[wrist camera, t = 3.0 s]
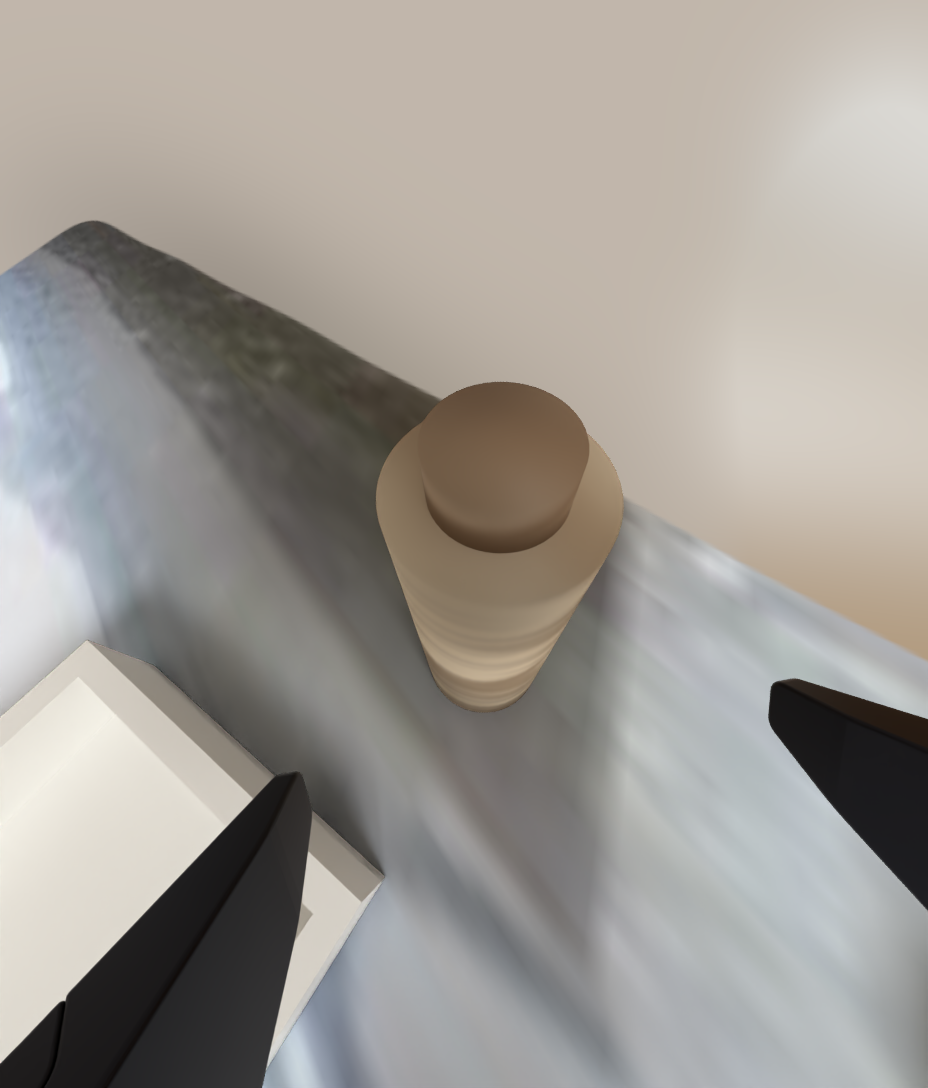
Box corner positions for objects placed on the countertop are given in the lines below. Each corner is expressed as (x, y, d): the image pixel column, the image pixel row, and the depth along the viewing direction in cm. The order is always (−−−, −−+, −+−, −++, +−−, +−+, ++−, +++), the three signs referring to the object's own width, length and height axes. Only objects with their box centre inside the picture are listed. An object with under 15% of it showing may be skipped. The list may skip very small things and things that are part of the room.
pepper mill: (499, 736, 18) (562, 633, 6) (408, 670, 20) (299, 471, 7) (555, 641, 20) (692, 411, 8) (468, 587, 22) (465, 319, 9)
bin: (21, 1466, 11) (-202, 1805, 7) (-199, 1011, 15) (-411, 1083, 11) (385, 877, 16) (361, 902, 13) (153, 665, 20) (87, 639, 17)
